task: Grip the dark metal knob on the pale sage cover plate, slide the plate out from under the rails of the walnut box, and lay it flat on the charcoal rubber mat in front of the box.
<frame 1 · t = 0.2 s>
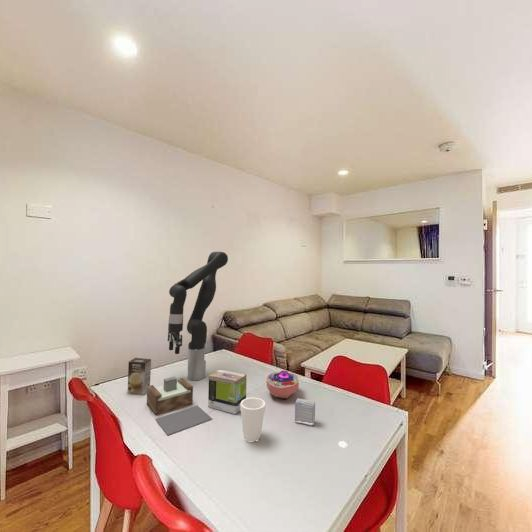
hand: (173, 351, 153), 17 cm above the table, tool pointing down, fingers open, 8 cm apart
medicine box: (304, 422, 119), on the table
foam cup: (252, 437, 107), on the table
walnut box: (169, 404, 130), on the table
cell model: (282, 395, 143), on the table
coffee box: (138, 392, 143), on the table
cover plate: (170, 391, 130), point 6 cm above the table, touching walnut box
tea box: (227, 406, 130), on the table
rubber mat: (183, 419, 118), on the table
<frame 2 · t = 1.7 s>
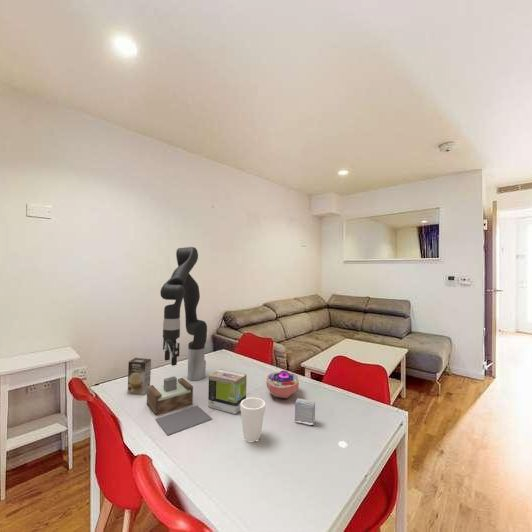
hand: (170, 362, 130), 19 cm above the table, tool pointing down, fingers open, 8 cm apart
nothing on the table moved.
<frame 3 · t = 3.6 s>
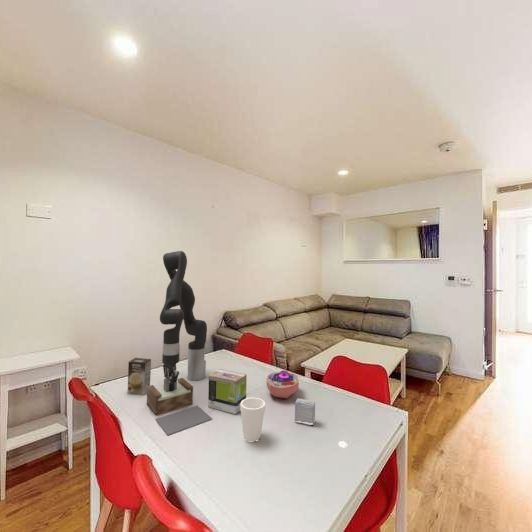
hand: (170, 389, 130), 7 cm above the table, tool pointing down, fingers closed on cover plate, 3 cm apart
cover plate: (170, 391, 130), point 6 cm above the table, touching gripper, walnut box
everything else where it was.
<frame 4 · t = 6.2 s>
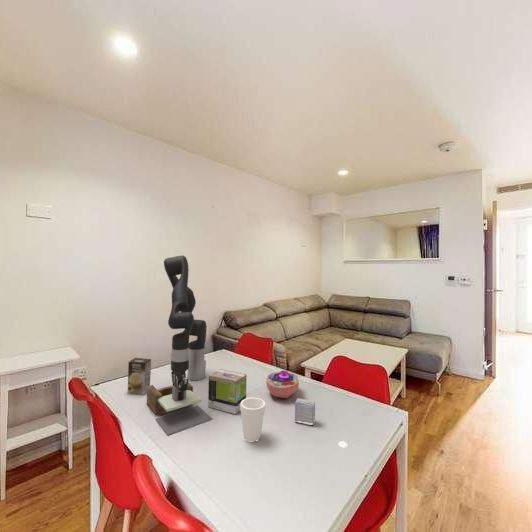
hand: (179, 398, 122), 7 cm above the table, tool pointing down, fingers closed on cover plate, 3 cm apart
cover plate: (179, 400, 122), point 6 cm above the table, touching gripper
everything else where it was.
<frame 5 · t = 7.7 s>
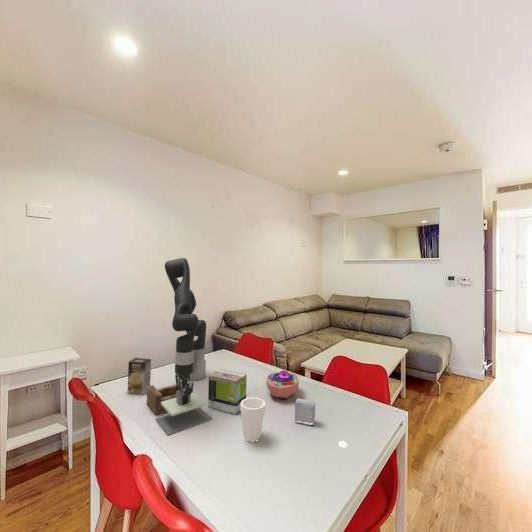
hand: (183, 401, 119), 7 cm above the table, tool pointing down, fingers closed on cover plate, 3 cm apart
cover plate: (183, 404, 119), point 6 cm above the table, touching gripper
everything else where it was.
when the fingers open (3 cm above the table, at t = 9.0 s): cover plate stays where it is, resting on rubber mat.
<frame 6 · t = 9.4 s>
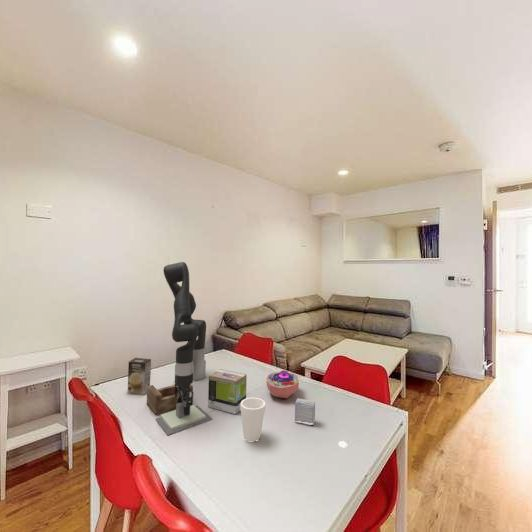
hand: (183, 411, 119), 3 cm above the table, tool pointing down, fingers open, 6 cm apart
cover plate: (183, 417, 119), resting on rubber mat
everything else where it was.
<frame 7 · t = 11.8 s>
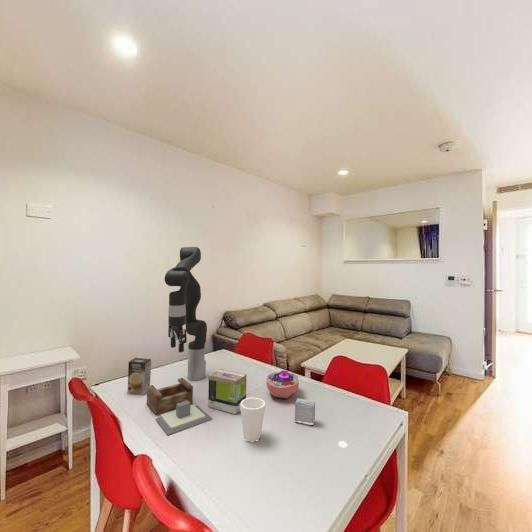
hand: (177, 349, 129), 26 cm above the table, tool pointing down, fingers open, 8 cm apart
nothing on the table moved.
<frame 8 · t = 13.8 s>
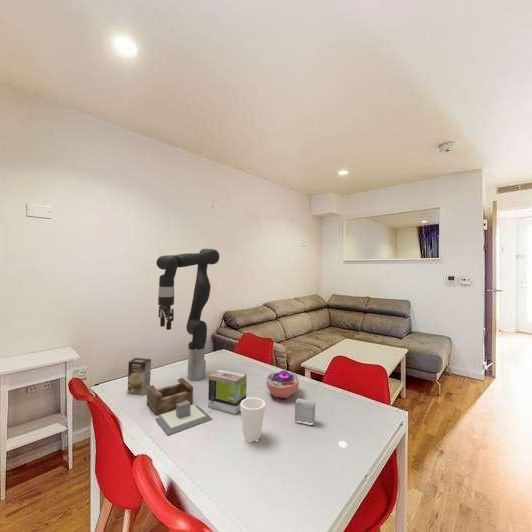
hand: (165, 328, 141), 33 cm above the table, tool pointing down, fingers open, 8 cm apart
nothing on the table moved.
at the end: cover plate inside the target area (0.5 cm from its centre), resting on rubber mat; cover plate tilted 0°; the gripper is holding nothing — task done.
